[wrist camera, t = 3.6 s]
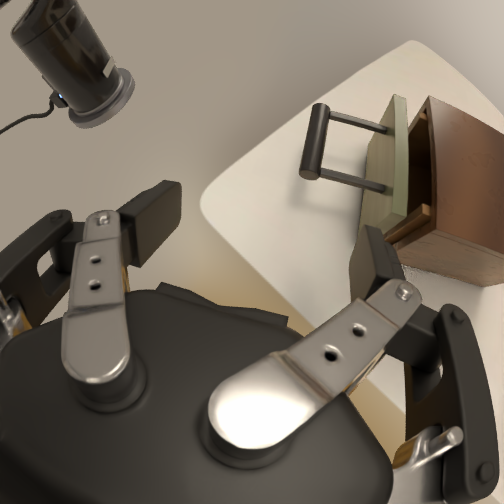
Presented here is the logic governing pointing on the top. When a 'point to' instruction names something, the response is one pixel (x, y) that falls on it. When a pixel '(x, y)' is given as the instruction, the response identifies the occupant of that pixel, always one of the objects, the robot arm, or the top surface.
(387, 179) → the drawer
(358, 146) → the top surface
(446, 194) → the cabinet
